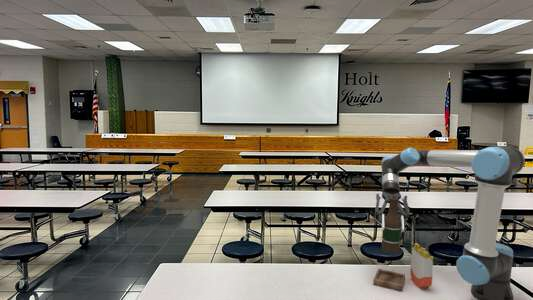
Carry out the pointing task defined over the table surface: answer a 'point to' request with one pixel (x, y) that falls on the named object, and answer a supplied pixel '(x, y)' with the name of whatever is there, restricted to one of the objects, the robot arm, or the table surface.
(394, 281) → the wooden tray
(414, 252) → the french fries container
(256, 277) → the table surface
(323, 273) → the table surface
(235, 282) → the table surface
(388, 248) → the beer bottle
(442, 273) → the table surface
